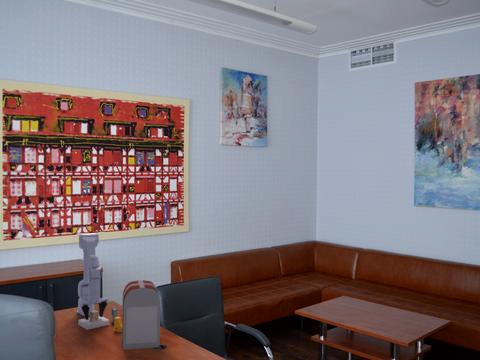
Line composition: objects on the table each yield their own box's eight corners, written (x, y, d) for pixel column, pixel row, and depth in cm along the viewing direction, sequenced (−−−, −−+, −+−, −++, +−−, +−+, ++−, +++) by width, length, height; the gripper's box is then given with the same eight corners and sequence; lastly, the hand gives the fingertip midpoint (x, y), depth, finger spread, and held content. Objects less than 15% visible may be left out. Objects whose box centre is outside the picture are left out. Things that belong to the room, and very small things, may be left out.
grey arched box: (122, 349, 210) (123, 289, 210) (121, 336, 227) (122, 280, 227) (160, 347, 215) (161, 287, 214) (156, 333, 232) (157, 278, 231)
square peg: (89, 324, 242) (89, 311, 242) (95, 323, 245) (95, 310, 244) (92, 326, 240) (92, 312, 240) (98, 325, 242) (98, 311, 242)
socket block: (78, 324, 242) (78, 319, 242) (100, 320, 250) (100, 315, 250) (86, 329, 235) (87, 324, 235) (109, 324, 243) (109, 320, 243)
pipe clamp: (139, 332, 234) (139, 319, 234) (134, 334, 230) (134, 321, 230) (119, 328, 239) (119, 315, 238) (113, 331, 235) (114, 318, 234)
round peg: (110, 322, 247) (110, 308, 247) (115, 320, 250) (116, 307, 249) (113, 323, 245) (113, 310, 245) (118, 322, 247) (119, 309, 247)
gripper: (84, 295, 234) (83, 323, 235) (111, 291, 244) (110, 317, 245) (78, 292, 240) (77, 319, 240) (104, 288, 249) (104, 314, 250)
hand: (93, 318), depth 243 cm, fingers open, 7 cm apart
